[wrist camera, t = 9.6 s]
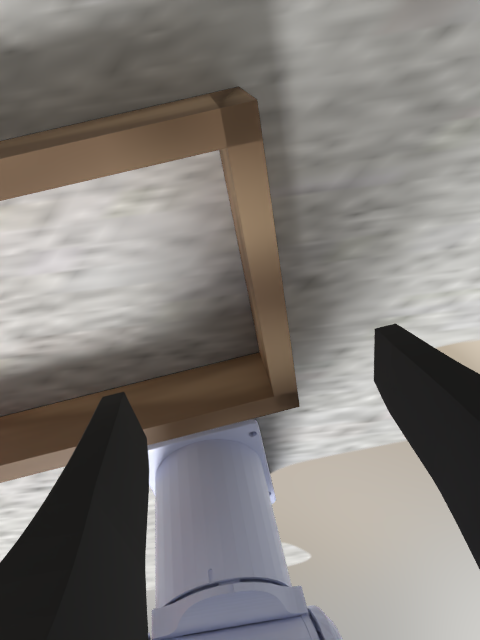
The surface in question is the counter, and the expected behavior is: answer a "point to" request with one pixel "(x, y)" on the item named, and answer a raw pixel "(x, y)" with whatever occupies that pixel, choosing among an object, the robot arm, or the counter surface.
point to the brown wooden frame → (255, 250)
